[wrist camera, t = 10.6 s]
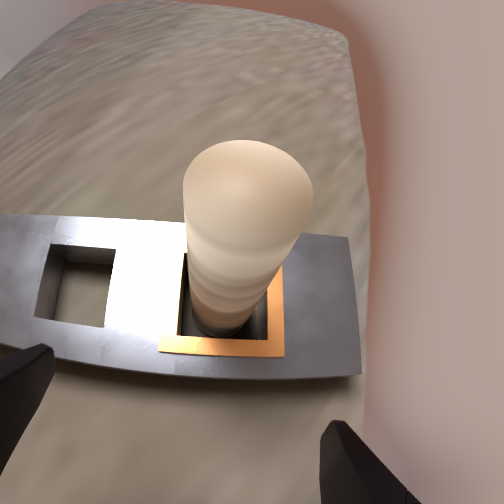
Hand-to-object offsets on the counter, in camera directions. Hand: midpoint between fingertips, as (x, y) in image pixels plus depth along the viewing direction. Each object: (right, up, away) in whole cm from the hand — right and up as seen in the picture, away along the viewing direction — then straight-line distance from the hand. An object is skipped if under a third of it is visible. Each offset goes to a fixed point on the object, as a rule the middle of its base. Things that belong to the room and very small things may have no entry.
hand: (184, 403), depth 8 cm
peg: (0, 0, +13) cm, 13 cm away
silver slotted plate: (-5, +1, +13) cm, 14 cm away
